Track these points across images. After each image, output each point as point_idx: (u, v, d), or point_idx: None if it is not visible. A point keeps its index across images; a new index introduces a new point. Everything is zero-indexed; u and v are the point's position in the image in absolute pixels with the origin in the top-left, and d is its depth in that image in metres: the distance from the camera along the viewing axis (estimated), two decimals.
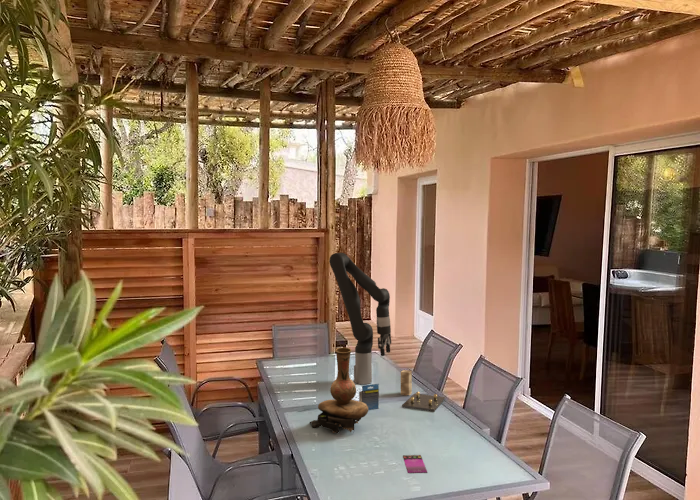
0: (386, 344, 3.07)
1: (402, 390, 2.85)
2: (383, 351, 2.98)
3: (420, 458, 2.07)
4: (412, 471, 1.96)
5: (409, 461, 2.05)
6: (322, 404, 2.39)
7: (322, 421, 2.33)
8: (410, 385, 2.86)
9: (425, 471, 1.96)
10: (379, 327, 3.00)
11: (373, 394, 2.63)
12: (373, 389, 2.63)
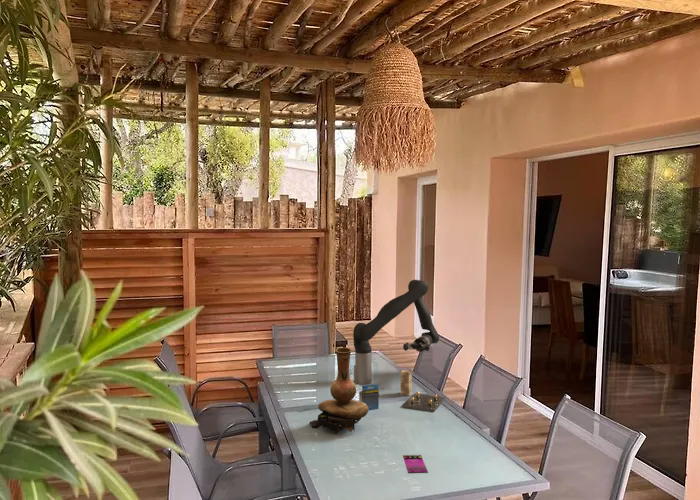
0: (408, 346, 3.02)
1: (402, 390, 2.85)
2: (422, 350, 2.96)
3: (420, 458, 2.07)
4: (413, 471, 1.96)
5: (409, 461, 2.05)
6: (322, 404, 2.39)
7: (322, 421, 2.33)
8: (410, 385, 2.86)
9: (426, 471, 1.96)
10: (427, 342, 3.09)
11: (373, 394, 2.63)
12: (373, 389, 2.63)
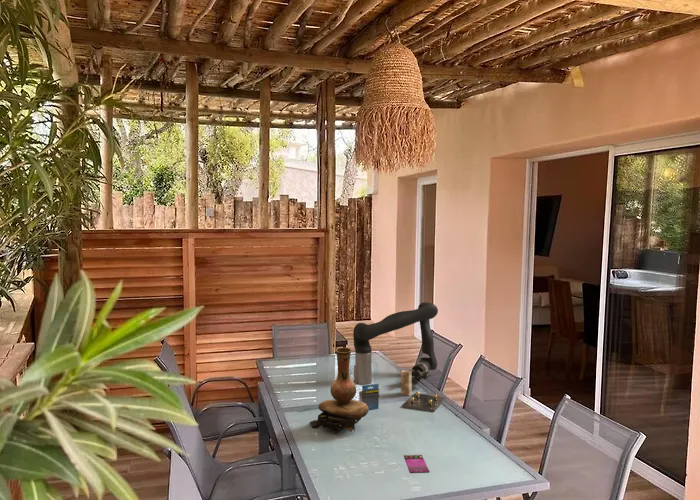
0: None
1: (402, 390, 2.85)
2: (420, 378, 2.94)
3: (421, 458, 2.08)
4: (414, 471, 1.97)
5: (410, 461, 2.05)
6: (322, 404, 2.39)
7: (323, 421, 2.33)
8: (410, 385, 2.86)
9: (427, 471, 1.97)
10: (425, 369, 3.06)
11: (373, 394, 2.63)
12: (373, 389, 2.63)
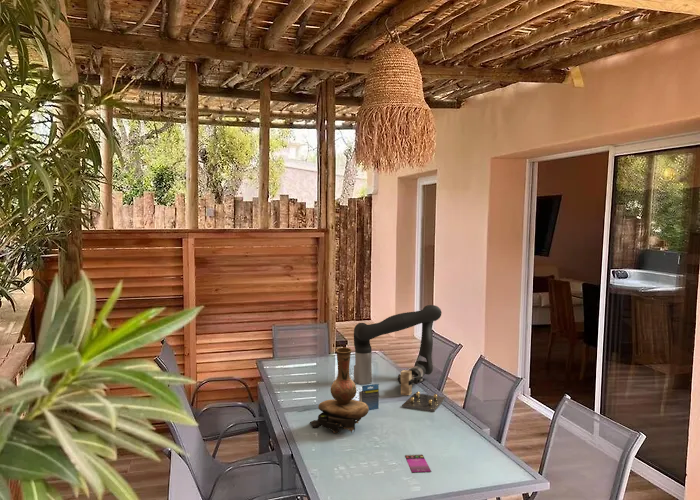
0: None
1: (402, 390, 2.85)
2: None
3: (422, 457, 2.08)
4: (416, 470, 1.97)
5: (412, 461, 2.05)
6: (322, 404, 2.39)
7: (323, 421, 2.33)
8: (410, 385, 2.86)
9: (429, 470, 1.97)
10: (420, 373, 2.97)
11: (373, 394, 2.63)
12: (373, 389, 2.63)
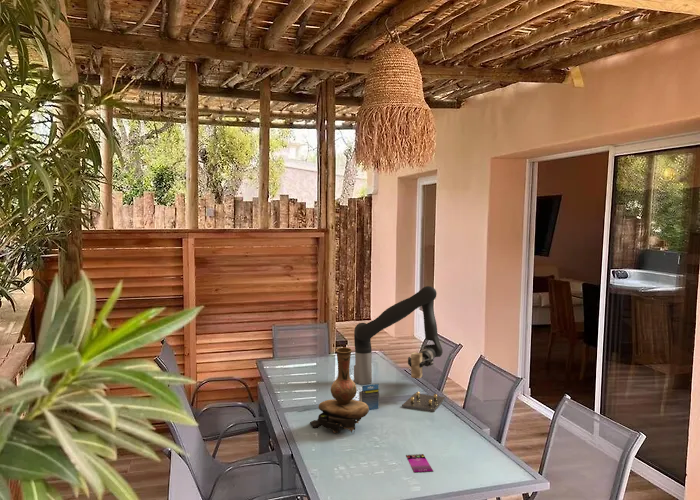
0: None
1: (413, 373, 2.77)
2: None
3: (424, 457, 2.08)
4: (418, 470, 1.97)
5: (413, 460, 2.05)
6: (322, 404, 2.39)
7: (323, 421, 2.33)
8: (421, 368, 2.77)
9: (431, 470, 1.97)
10: (430, 356, 2.89)
11: (373, 394, 2.63)
12: (373, 389, 2.63)
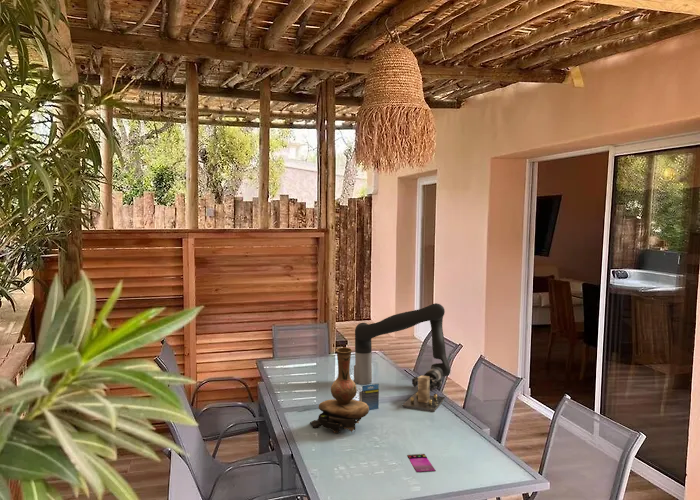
0: (417, 381, 2.75)
1: (420, 397, 2.70)
2: None
3: (425, 457, 2.08)
4: (420, 470, 1.97)
5: (415, 460, 2.05)
6: (323, 404, 2.39)
7: (323, 421, 2.33)
8: (428, 392, 2.71)
9: (433, 469, 1.98)
10: (438, 376, 2.82)
11: (373, 394, 2.63)
12: (373, 389, 2.63)
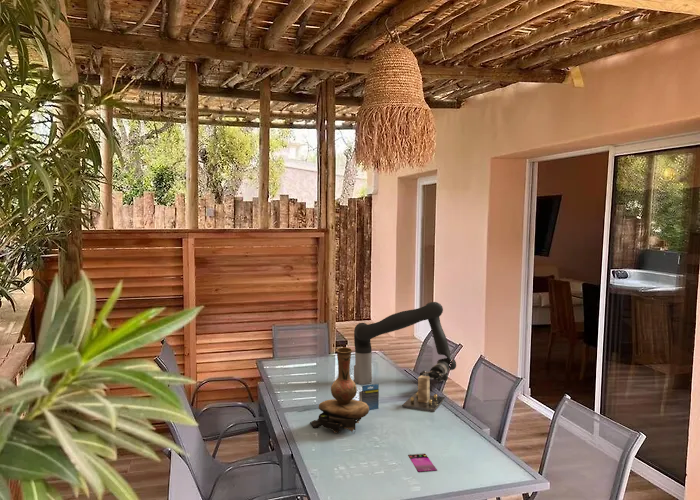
0: (424, 374, 2.87)
1: (420, 397, 2.70)
2: None
3: (426, 457, 2.09)
4: (422, 470, 1.97)
5: (416, 460, 2.06)
6: (323, 404, 2.39)
7: (323, 421, 2.33)
8: (428, 392, 2.71)
9: (435, 469, 1.98)
10: (444, 370, 2.93)
11: (373, 394, 2.63)
12: (373, 389, 2.63)
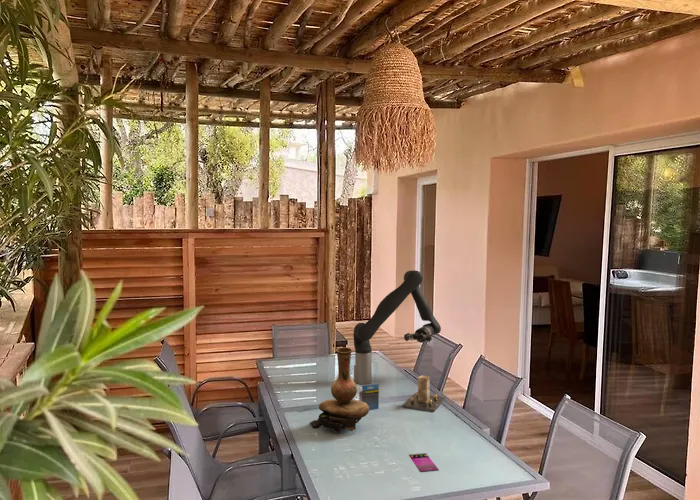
0: (409, 336, 2.94)
1: (420, 397, 2.70)
2: None
3: (427, 456, 2.09)
4: (424, 469, 1.97)
5: (417, 460, 2.06)
6: (323, 404, 2.39)
7: (323, 421, 2.33)
8: (428, 392, 2.71)
9: (436, 469, 1.98)
10: (428, 333, 3.01)
11: (373, 394, 2.63)
12: (373, 389, 2.63)
